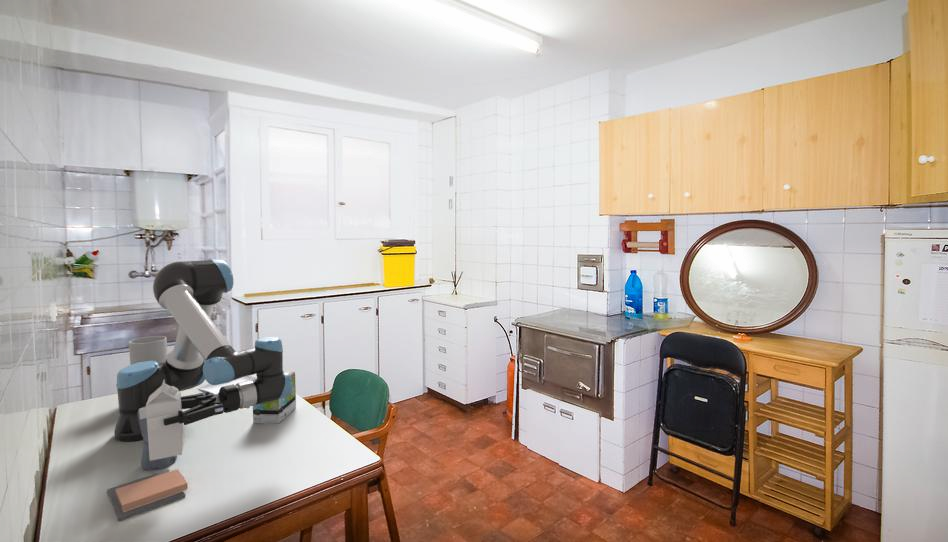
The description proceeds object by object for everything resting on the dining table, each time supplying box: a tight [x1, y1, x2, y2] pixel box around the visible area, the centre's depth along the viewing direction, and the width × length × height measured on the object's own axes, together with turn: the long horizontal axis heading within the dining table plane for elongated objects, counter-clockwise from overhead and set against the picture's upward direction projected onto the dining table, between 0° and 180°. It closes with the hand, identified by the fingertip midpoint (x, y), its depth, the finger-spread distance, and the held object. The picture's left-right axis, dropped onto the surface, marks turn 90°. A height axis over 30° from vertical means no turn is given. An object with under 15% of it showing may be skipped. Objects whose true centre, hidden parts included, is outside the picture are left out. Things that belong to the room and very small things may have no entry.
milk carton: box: [146, 380, 185, 461], centre depth 123 cm, size 7×7×19 cm
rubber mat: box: [106, 469, 186, 522], centre depth 123 cm, size 18×14×1 cm
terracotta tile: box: [115, 468, 189, 512], centre depth 122 cm, size 10×2×14 cm
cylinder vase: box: [128, 335, 169, 365], centre depth 188 cm, size 12×12×25 cm
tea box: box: [252, 371, 297, 424], centre depth 173 cm, size 15×10×15 cm
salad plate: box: [196, 375, 257, 394], centre depth 199 cm, size 21×21×3 cm
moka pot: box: [137, 400, 178, 471], centre depth 138 cm, size 10×15×20 cm, turn 58°
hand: (143, 419), depth 120 cm, fingers closed on milk carton, 9 cm apart
